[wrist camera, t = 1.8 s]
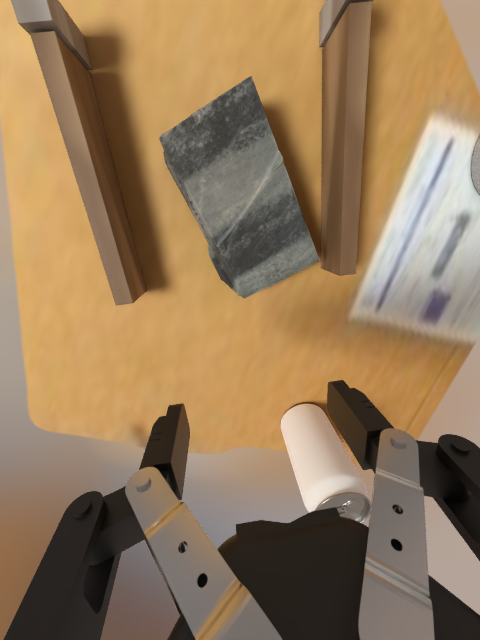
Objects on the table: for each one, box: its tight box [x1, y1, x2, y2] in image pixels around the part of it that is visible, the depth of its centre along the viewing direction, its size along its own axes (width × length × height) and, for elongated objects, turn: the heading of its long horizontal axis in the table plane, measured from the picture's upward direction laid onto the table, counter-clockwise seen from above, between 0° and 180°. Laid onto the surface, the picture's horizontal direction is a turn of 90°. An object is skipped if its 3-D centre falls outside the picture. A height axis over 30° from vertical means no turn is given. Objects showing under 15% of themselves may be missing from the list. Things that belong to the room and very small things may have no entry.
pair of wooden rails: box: [11, 0, 373, 305], centre depth 20 cm, size 22×20×5 cm
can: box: [281, 404, 371, 523], centre depth 29 cm, size 6×6×12 cm
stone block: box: [159, 76, 319, 298], centre depth 22 cm, size 9×14×5 cm, turn 27°
